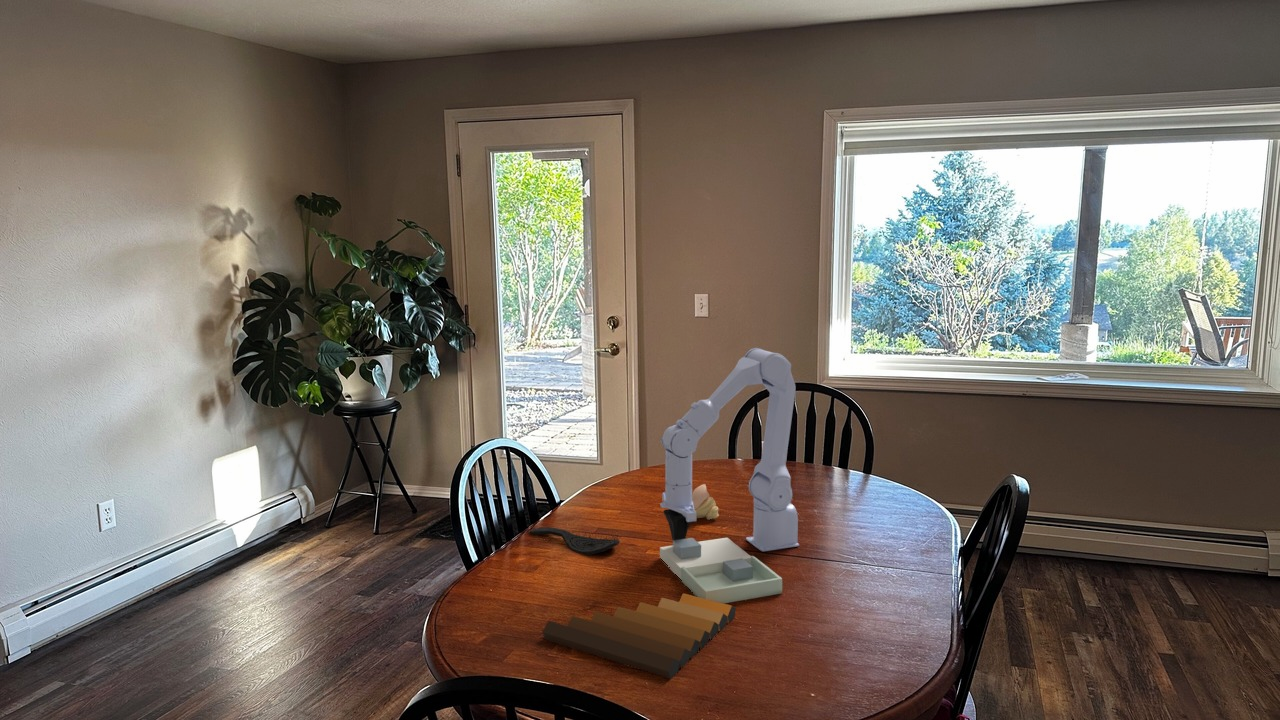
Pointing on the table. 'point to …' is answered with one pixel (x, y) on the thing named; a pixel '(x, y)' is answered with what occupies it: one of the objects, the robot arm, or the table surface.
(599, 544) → the hairbrush
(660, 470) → the table surface
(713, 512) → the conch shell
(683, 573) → the box
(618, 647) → the pan flute
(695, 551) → the tile outer
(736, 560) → the squat square grey block
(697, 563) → the board
